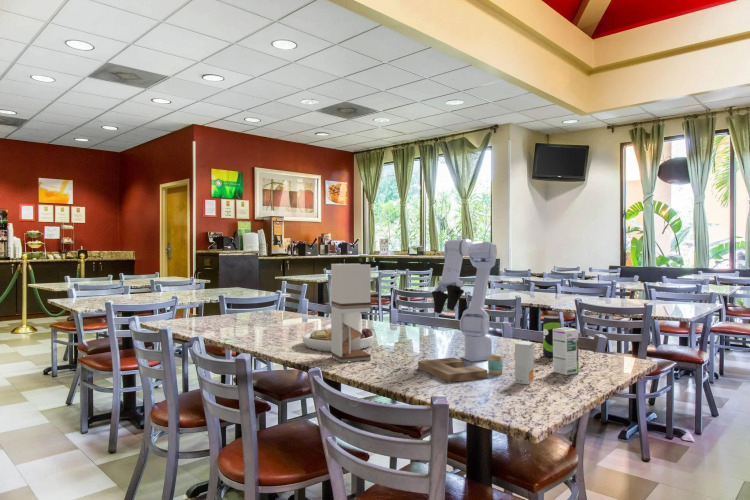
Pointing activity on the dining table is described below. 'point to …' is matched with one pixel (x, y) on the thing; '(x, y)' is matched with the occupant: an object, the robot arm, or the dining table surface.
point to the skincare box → (524, 362)
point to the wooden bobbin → (495, 364)
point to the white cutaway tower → (349, 310)
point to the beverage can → (549, 334)
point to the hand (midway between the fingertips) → (443, 311)
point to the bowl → (323, 339)
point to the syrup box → (565, 351)
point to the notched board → (452, 369)
